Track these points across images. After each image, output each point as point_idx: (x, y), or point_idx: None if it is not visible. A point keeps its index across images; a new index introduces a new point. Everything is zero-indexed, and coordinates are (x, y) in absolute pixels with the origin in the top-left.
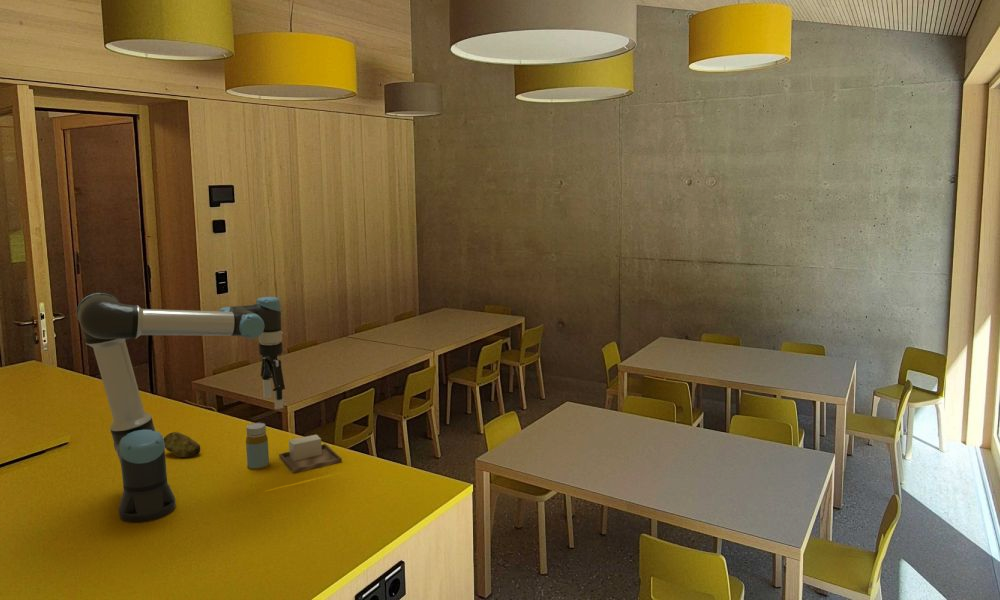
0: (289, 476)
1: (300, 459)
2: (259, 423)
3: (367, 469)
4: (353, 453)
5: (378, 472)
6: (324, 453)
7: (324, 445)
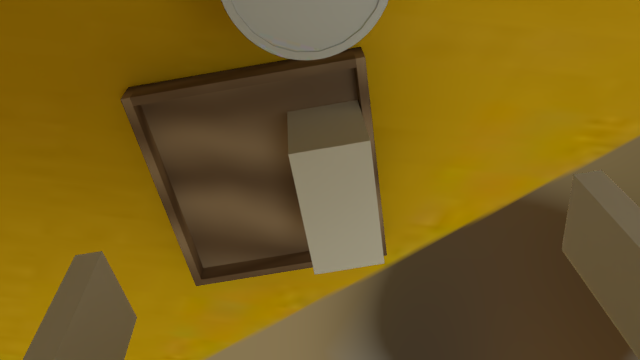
0: (118, 68)
1: None
2: (371, 12)
3: None
4: (289, 311)
5: None
6: None
7: None
